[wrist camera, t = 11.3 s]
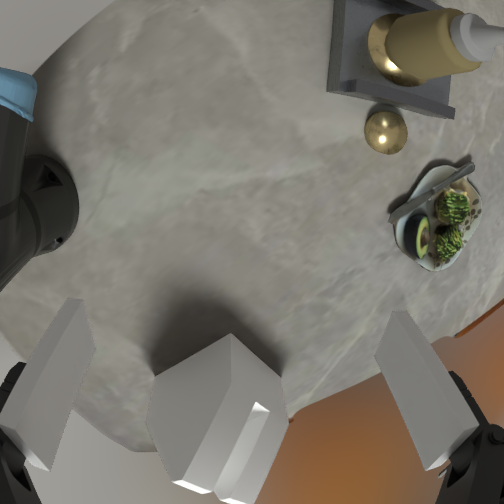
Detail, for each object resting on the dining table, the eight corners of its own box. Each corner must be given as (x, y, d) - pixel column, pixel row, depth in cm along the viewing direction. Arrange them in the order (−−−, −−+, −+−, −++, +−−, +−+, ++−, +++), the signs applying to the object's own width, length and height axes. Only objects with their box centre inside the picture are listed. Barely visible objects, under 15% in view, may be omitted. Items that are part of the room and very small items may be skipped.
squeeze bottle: (402, 10, 27) (497, -23, 11) (440, 59, 30) (543, 57, 14) (362, 40, 29) (454, 9, 13) (403, 92, 32) (508, 100, 16)
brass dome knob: (360, 148, 41) (366, 150, 39) (366, 106, 38) (372, 107, 36) (397, 155, 41) (403, 157, 39) (403, 115, 39) (410, 116, 37)
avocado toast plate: (439, 129, 40) (456, 133, 35) (492, 193, 44) (509, 202, 40) (372, 229, 46) (384, 241, 42) (435, 276, 51) (448, 290, 47)
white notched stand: (230, 332, 53) (233, 465, 31) (280, 377, 59) (300, 492, 37) (155, 376, 57) (134, 489, 35) (207, 412, 63) (204, 514, 41)
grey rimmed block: (326, 91, 37) (347, 90, 30) (334, -7, 30) (355, -26, 23) (427, 115, 38) (459, 121, 31) (433, 25, 32) (465, 18, 25)
